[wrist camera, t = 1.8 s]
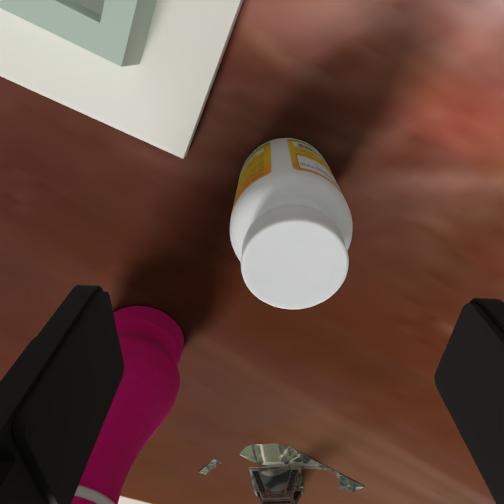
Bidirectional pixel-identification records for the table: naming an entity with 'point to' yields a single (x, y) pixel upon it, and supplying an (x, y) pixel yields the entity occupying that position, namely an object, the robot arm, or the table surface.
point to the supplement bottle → (290, 225)
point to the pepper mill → (134, 400)
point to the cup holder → (121, 59)
